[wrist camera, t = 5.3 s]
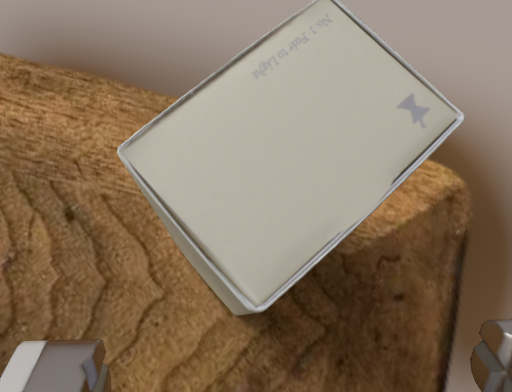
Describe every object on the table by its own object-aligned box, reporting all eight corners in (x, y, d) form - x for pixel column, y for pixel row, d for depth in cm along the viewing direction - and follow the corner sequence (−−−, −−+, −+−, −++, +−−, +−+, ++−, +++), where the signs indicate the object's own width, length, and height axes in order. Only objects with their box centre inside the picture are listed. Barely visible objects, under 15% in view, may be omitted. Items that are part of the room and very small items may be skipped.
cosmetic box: (272, 169, 21) (331, -23, 10) (334, 234, 20) (480, 112, 9) (173, 251, 20) (101, 141, 8) (236, 326, 19) (258, 321, 7)
